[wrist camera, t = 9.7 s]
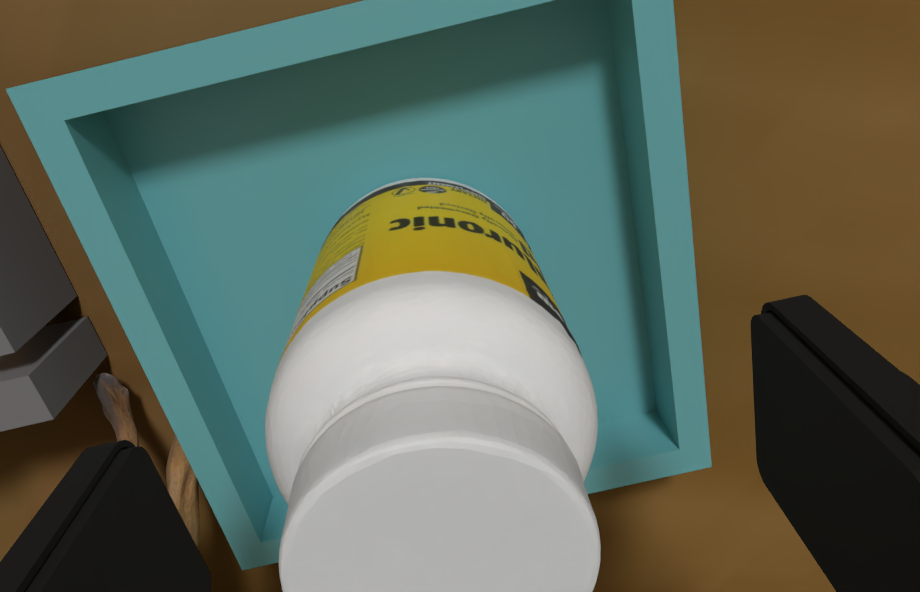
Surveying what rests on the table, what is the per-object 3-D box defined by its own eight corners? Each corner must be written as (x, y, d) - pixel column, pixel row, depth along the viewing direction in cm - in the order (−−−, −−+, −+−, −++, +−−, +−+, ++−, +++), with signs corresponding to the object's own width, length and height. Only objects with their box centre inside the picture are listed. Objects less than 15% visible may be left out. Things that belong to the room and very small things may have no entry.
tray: (629, -65, 15) (666, -75, 13) (679, 415, 20) (711, 466, 18) (63, 75, 15) (5, 89, 13) (260, 509, 21) (242, 570, 18)
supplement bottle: (574, 252, 17) (752, 533, 8) (446, 401, 19) (479, 772, 10) (399, 124, 16) (385, 298, 7) (276, 297, 17) (131, 628, 8)
